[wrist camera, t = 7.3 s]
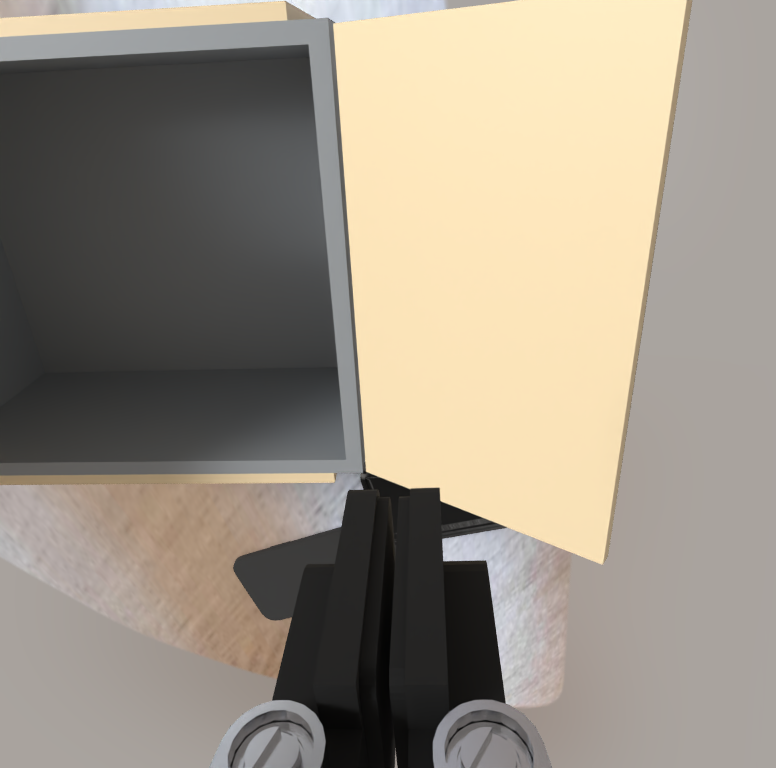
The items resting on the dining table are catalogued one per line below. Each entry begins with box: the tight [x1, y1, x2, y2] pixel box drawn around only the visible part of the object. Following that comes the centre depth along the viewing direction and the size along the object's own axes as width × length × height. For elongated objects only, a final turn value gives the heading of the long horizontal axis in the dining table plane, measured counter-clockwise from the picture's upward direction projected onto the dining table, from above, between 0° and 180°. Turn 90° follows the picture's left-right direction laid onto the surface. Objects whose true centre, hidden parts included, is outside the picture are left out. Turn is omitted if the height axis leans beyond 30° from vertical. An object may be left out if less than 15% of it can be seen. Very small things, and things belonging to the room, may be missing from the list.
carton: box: [0, 1, 365, 485], centre depth 33 cm, size 21×24×12 cm
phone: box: [233, 527, 396, 620], centre depth 50 cm, size 7×1×15 cm
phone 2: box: [360, 462, 508, 546], centre depth 45 cm, size 8×1×15 cm
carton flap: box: [333, 0, 692, 565], centre depth 23 cm, size 20×12×1 cm
